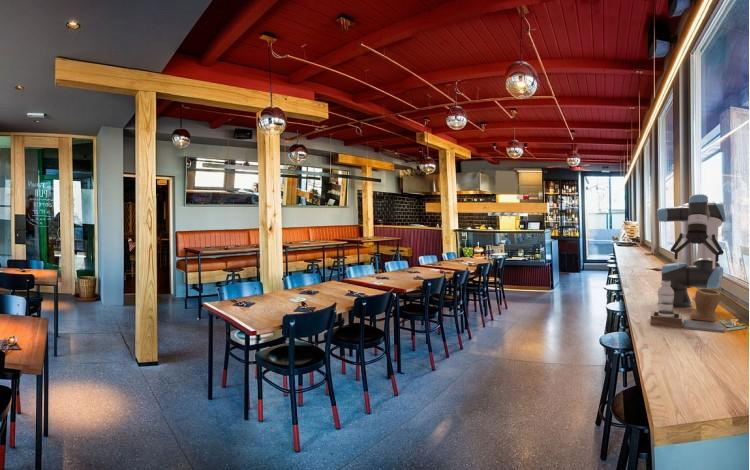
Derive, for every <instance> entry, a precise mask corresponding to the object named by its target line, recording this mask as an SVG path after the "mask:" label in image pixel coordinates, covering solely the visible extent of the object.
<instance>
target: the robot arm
mask: <svg viewBox="0 0 750 470" xmlns="http://www.w3.org/2000/svg"><path fill="white" fill-rule="evenodd" d="M724 205H725V204H724V203H723V202H722V201H709V197H708V195H706V194H704V193H703V194H702V193H695V194H692V195H690V196H689V197H688V202H687V203H683V204H678V205H677V204H676V205H675V206H672V207H670V206H669V207H659V208H658V209H657V210H656V218H657V221H658V222H662V223H663V222H664V223H668V222H670V223H671V222H673V223H674V222H683V223H687V232H686V234H685V233H681V232H680V233H679V236H678V237H677V239H676V241H675V242H674V244H672V246H671V248H670V253H674V260H677V261H676V262H673V263H666V264H663V265H662V266H661V273H660V274H661V281H671V285H670V287H671V288H672V289H673V291H674V299H673V308H674V307H675V308H689V307H692V301H691V298H690V294H689V293H688V288H698V289H700V288H706V289H718V288H720V287H721V284H722V282H723V277H724V267H722V266H721V265H720V263H719V258H720V256H723V255H724V254H725V253H724V250H723V249H722V247H721V245H720V244H719V242H718V241H719V228H720V227H721V226H722V225H723V223H725V222H726V221H727V219H726V213H725V212H726V211H725V206H724ZM685 238H686V239H687V240H686V241H684V243H682V244H681V245H680V242H682V240H683V239H685ZM689 244H693V245H695V244H696V245H697V250H696V251H697V253H696V260H695V261H693V262H692V265H688V263H687V262H680V253H681V250H683V249H684V248H686V247H687V246H688V245H689ZM679 245H680V246H679ZM657 303H658V304H659V298H658V300H657Z"/></svg>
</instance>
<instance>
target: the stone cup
mask: <svg viewBox="0 0 750 470" xmlns="http://www.w3.org/2000/svg"><path fill="white" fill-rule="evenodd" d="M721 296H722V295H721V292H720V291H717V290H715V289H713V288H710V289H708V288H698V289H696V291H695V294H694V302H695V303H694V304H695V309H693V310H691V312H690V313H689V317H688V318H690V320H693V321H704V322H714V321H715V320H716V319H717V317H716V314H715V312H716V310H717V308H718V306H719V304H720V301H721Z"/></svg>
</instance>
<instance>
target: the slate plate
mask: <svg viewBox="0 0 750 470" xmlns="http://www.w3.org/2000/svg"><path fill="white" fill-rule="evenodd" d="M721 323H722V322H714V321H699V320H694V319H682V325H683V329H685V330H686V329H687V330H695V331H696V330H697V331H707V332H715V333H716V332H717V333H725V327H724V325H723V323H722V324H721Z"/></svg>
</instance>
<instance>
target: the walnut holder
mask: <svg viewBox="0 0 750 470" xmlns="http://www.w3.org/2000/svg"><path fill="white" fill-rule="evenodd" d="M658 313H659V311H653V310H651V313H650V325H651V326H661V327H669V328H670V327H671V328H680V329H682V328H683V313H679V312H678V313H677V312H674V316H675V318H672V317H660V316H658Z"/></svg>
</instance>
